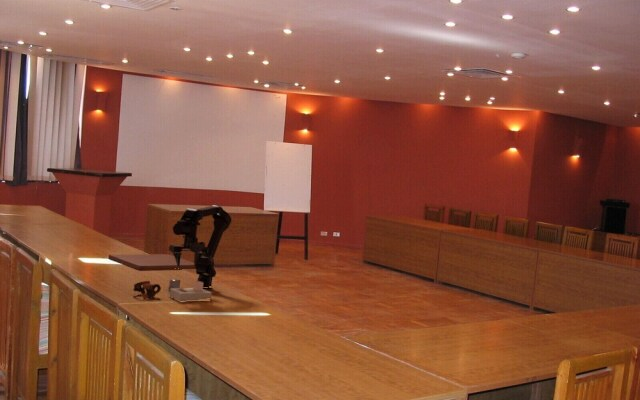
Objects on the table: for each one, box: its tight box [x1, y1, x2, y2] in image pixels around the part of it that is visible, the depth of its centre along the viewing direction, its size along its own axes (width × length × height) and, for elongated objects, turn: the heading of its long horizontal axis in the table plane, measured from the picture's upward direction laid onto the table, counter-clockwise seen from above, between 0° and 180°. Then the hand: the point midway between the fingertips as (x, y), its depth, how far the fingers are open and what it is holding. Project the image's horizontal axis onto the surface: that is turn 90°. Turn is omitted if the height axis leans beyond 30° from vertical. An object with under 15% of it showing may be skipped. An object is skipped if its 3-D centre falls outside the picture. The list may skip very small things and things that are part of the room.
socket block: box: [168, 287, 213, 301], centre depth 322 cm, size 16×10×4 cm, turn 130°
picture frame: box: [108, 253, 196, 271], centre depth 402 cm, size 40×3×33 cm
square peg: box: [192, 280, 203, 292], centre depth 324 cm, size 3×3×8 cm
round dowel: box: [168, 278, 181, 293], centre depth 332 cm, size 5×5×6 cm
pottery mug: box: [133, 280, 162, 300], centre depth 316 cm, size 12×10×8 cm
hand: (186, 266), depth 338 cm, fingers open, 9 cm apart
